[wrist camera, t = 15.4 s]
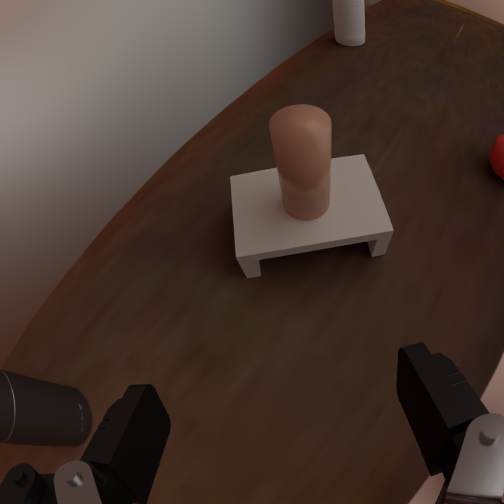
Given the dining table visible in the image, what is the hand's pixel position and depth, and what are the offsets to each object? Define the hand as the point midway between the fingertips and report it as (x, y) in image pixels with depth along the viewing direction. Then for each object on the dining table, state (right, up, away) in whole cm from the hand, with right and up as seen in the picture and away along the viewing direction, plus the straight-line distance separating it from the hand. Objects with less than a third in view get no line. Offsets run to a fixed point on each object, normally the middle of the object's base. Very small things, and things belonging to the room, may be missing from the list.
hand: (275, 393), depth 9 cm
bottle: (+25, +59, +56) cm, 85 cm away
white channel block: (+7, +8, +33) cm, 35 cm away
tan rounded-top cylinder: (+6, +10, +28) cm, 30 cm away
